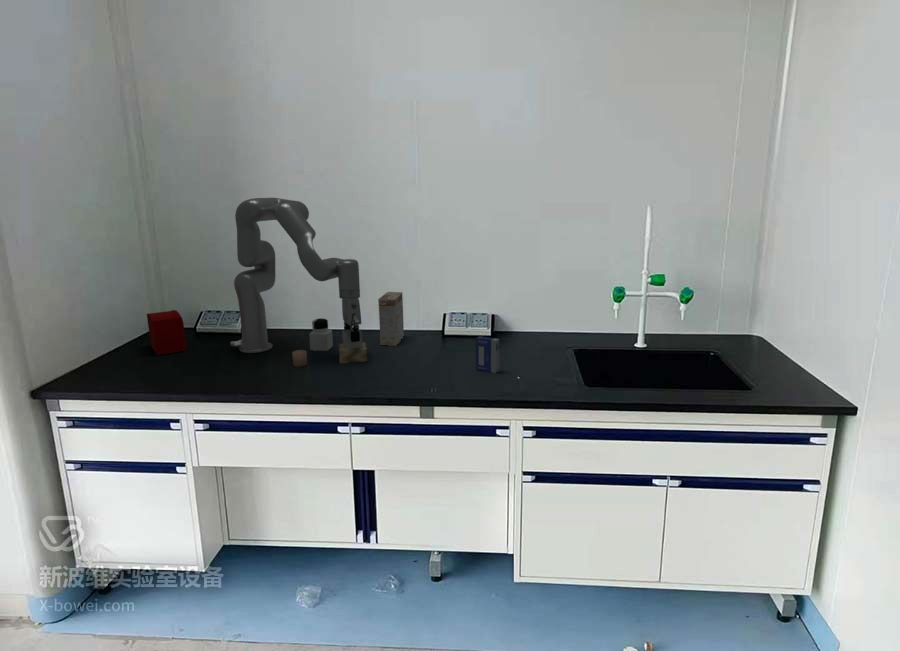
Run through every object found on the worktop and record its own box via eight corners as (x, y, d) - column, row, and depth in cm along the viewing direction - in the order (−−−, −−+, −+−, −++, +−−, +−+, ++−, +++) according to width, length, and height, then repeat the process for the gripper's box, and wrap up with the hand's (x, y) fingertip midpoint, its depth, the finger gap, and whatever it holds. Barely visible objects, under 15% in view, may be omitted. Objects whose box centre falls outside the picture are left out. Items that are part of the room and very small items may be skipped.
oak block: (339, 364, 210) (339, 351, 209) (339, 356, 220) (338, 343, 219) (367, 362, 212) (366, 349, 211) (365, 354, 222) (365, 342, 221)
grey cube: (346, 349, 211) (345, 333, 210) (342, 345, 216) (342, 330, 215) (362, 347, 213) (361, 331, 212) (358, 343, 219) (357, 328, 217)
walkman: (475, 370, 201) (475, 337, 198) (479, 367, 204) (479, 335, 201) (496, 373, 197) (496, 339, 194) (499, 371, 200) (499, 338, 197)
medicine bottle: (333, 346, 232) (331, 317, 229) (327, 351, 225) (325, 321, 223) (316, 345, 233) (314, 317, 230) (310, 350, 226) (308, 321, 223)
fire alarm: (187, 351, 227) (182, 314, 223) (157, 356, 221) (152, 318, 217) (179, 342, 240) (175, 307, 236) (151, 347, 234) (146, 311, 230)
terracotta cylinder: (294, 368, 206) (293, 354, 204) (292, 364, 210) (291, 351, 209) (308, 366, 208) (307, 352, 206) (306, 362, 212) (305, 349, 211)
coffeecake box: (388, 336, 246) (386, 291, 242) (404, 336, 246) (403, 291, 241) (379, 345, 232) (377, 298, 227) (396, 346, 231) (395, 299, 226)
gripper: (366, 296, 204) (368, 342, 208) (353, 288, 219) (355, 332, 223) (345, 298, 201) (347, 345, 205) (334, 290, 216) (336, 334, 220)
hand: (352, 338), depth 214 cm, fingers open, 9 cm apart
